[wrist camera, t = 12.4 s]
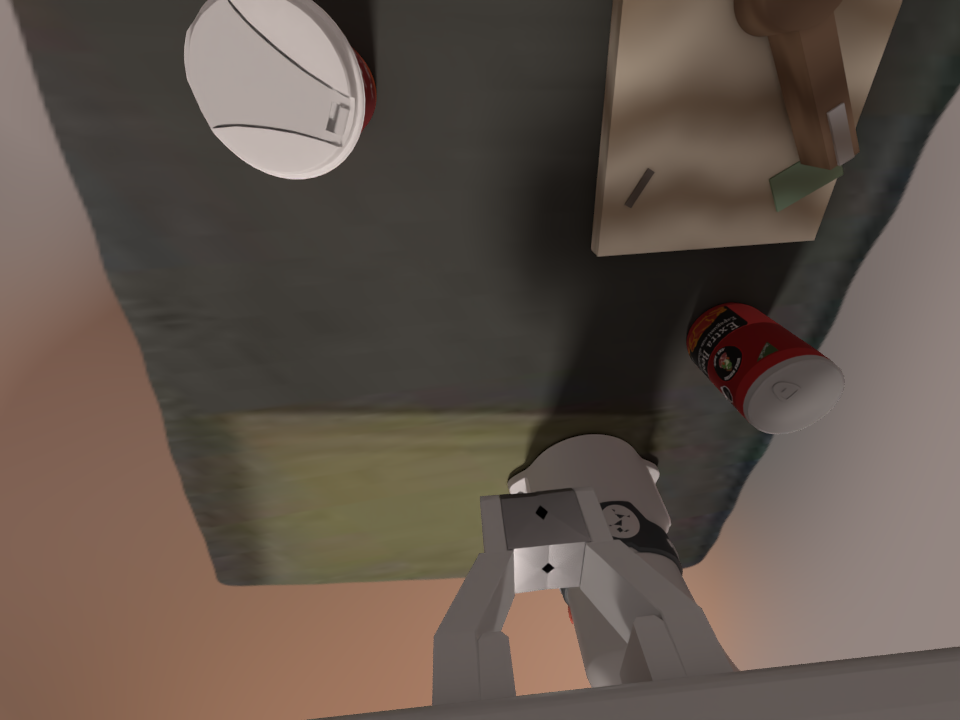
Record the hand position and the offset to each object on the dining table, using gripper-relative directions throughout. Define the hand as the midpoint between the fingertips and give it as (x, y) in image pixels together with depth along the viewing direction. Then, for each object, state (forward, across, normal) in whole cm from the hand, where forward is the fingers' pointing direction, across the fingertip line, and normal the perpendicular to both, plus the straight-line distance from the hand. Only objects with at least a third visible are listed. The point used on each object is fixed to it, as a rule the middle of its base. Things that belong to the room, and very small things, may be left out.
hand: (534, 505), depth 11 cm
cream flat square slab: (+29, -20, -7) cm, 36 cm away
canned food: (+29, -25, +13) cm, 41 cm away
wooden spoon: (+27, -23, -10) cm, 36 cm away
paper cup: (+29, +9, -10) cm, 32 cm away
